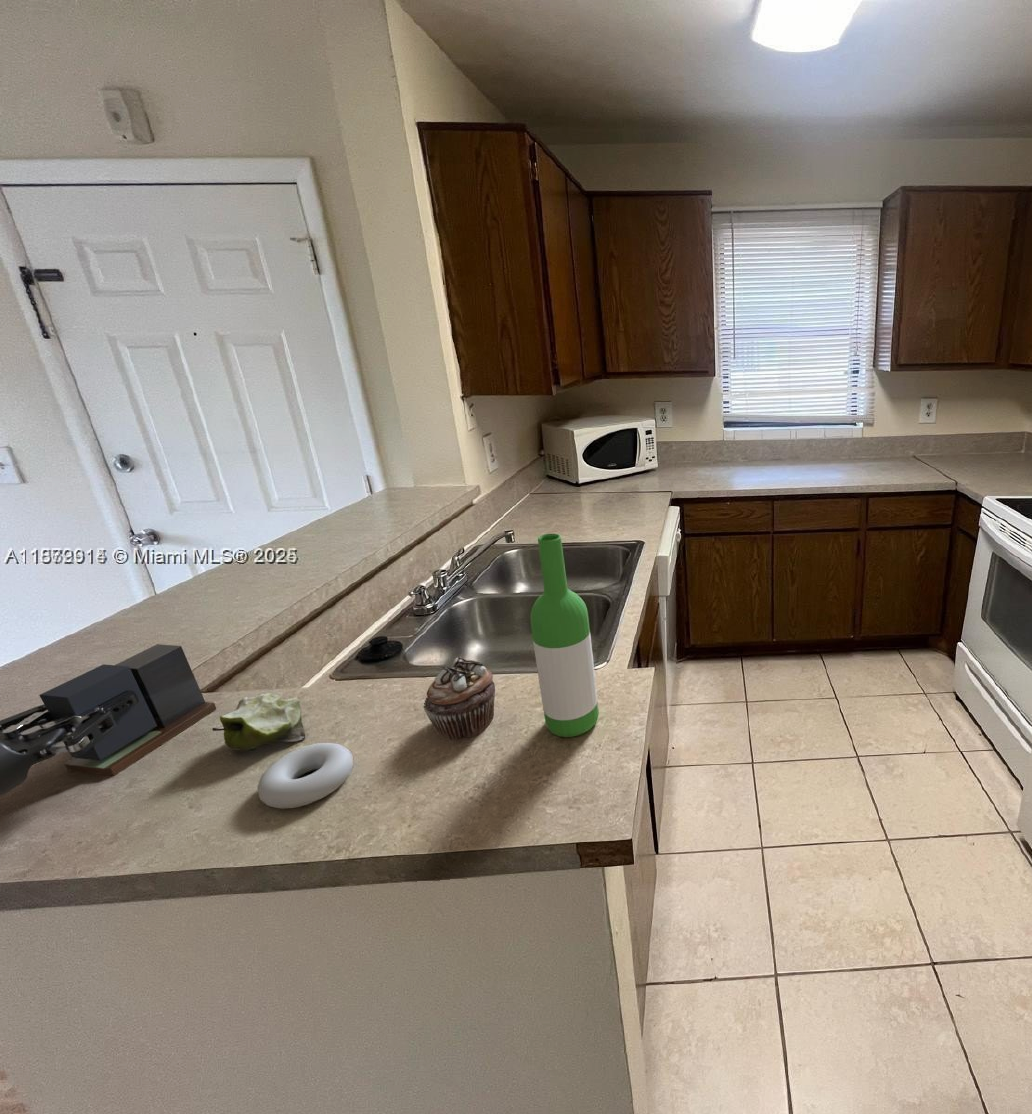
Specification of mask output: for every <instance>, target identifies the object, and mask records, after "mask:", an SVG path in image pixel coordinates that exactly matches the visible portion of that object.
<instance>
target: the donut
mask: <svg viewBox="0 0 1032 1114" xmlns="http://www.w3.org/2000/svg"><path fill="white" fill-rule="evenodd" d="M353 765H354V758H353V755H352V752H351V751H350V749H348V748H347V747H345V746H344V745H342V744H339V743H334V742H317V743H313V744H309V745H305V746H302V747H300V748H297V749H294V750H292V751H290V752H288V753H286V754H285V755H283V756H281V757H279V758H278V759H277V760H276V761H275V762H273V763H271V764H270V766H269V767H268V768H267V769H266V770H265V771H264V772H263V773H262V774H261V776H260V779H259V782H258V784H257V793H258V798H259V799H260V801H261V802H263V803H264V804H266V806H269V807H271V808H276V809H280V810H282V809H283V810H284V809H296V808H300V807H303V806H307V805H310V804H313V803H314V802H317V801H319V800H322V799H324V798H326V797H327V796H329V795H330V794H331V793H333V792H335V791H336V790H337V789H338V788H339V787H340V786H341V785H343V784H344V782H346V780H347V779H348V777H349V776H350V774H351V773H352V770H353ZM311 771H313V772H312V773H311V774H308V775H305V776H303V777H301V776H302V775H304V774H306V773H309V772H311ZM299 777H300V778H299Z"/></svg>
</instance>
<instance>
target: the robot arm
mask: <svg viewBox="0 0 1032 1114" xmlns="http://www.w3.org/2000/svg"><path fill="white" fill-rule="evenodd" d="M138 702H139V699H138V697H137V695H136V693H135V691H132V690H126V691H124V692H122V693H120V694H118V695H117V696H115V697H113V698H111V699H109V700H107V701H105V702H103V703H102V704H100V705H98V706H97V707H94V708H92V709H89V710H87V711H85V712H83V713H81V714H79V715H74V714H68V715H66V716H63V717H61V718H59V719H56V720H54V719H53V717H52V715H51V713H50V712H48V710H47V708H46V707H45V705H44V703H43V704H40V705H37V706H35V707H32V708H29V709H26V710H24V711H22V712H19V713H16V714H13V715H11V716H9V717H5V718H4V719H1V720H0V797H2V796H4V795H5V794H7V793H9V792H10V791H12V790H14V789H16V788H17V787H20V786H21V785H23V783H25V781H26V780H27V778H28V774H29V772H30V769H32V767H33V766H35V765H37V764H39V763H41V762H44V761H47V760H49V759H51V758H53V757H54V756H56V755H57V754H62V753H63V754H64V753H69V755H70V756H71V758H74V757H78V756H81V755H83V754H84V753H86V752H87V751H88V750H89V749H91V748H92V747H93V746H94V745H95V744H97V743H98V742H99V741H100V740H102V739H103V738H104V737H105V736H106V735H108V734H109V733H110V732H111V731H113V730H114V729H115V728H116V727H117V725H116V723H115V721H114V719H113V717H115V716H117V715H119V714H120V713H122V712H124V711H126V710H127V709H129V708H131V707H133V706H135V705H136V704H138ZM89 717H92V718H90V719H89V720H88V721H87V722H85V723H84V724H82V721H83V720H85V719H87V718H89ZM68 723H69V725H70V727H71V729H72V730H73V732H69V731H68V729H67V728H66V726H65V724H68ZM101 727H102V728H101ZM99 728H100V729H99Z"/></svg>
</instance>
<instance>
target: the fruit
mask: <svg viewBox="0 0 1032 1114" xmlns="http://www.w3.org/2000/svg"><path fill="white" fill-rule="evenodd" d="M301 708H302V707H301V703H300V700H299V699H298V698H296V697H293V698H292V697H291V698H288V699H283V698H281V697H280V696H279V694H274V693H271V692H268V693H260V694H258V695H257V696H252V697H243V698H241V699H239V700H238V704H237V706H236V709H235V710H234V711H231V712H228V713H226V714H223V715H221V716H219V721H220V723H221V724H222V728H217V727H212V728H211V729H212V730H211V731H214V732H219V731H220V732H221V731H223V741H224V744H225V746H226V747H227V748H228V749H231V750H234V751H243V752H244V751H245V752H246V751H256V750H257V747H258V746H261V745H266V744H272V743H276V742H300V741H303V740H305V739H306V733H305V729H304V725H303V720H302V709H301Z"/></svg>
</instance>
